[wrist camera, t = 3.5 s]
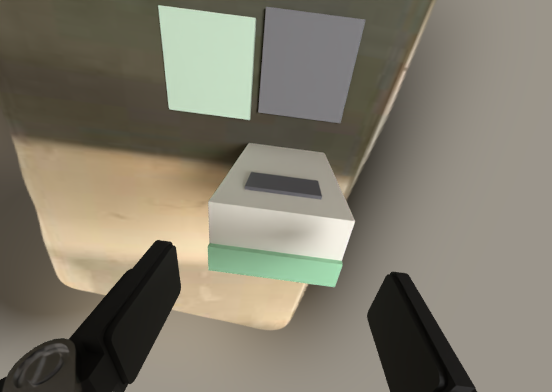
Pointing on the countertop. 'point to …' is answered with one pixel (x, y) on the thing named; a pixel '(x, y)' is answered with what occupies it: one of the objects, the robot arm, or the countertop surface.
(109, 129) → the countertop surface
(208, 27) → the green pad
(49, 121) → the countertop surface
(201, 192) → the countertop surface
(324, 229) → the block
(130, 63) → the countertop surface
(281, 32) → the grey pad
